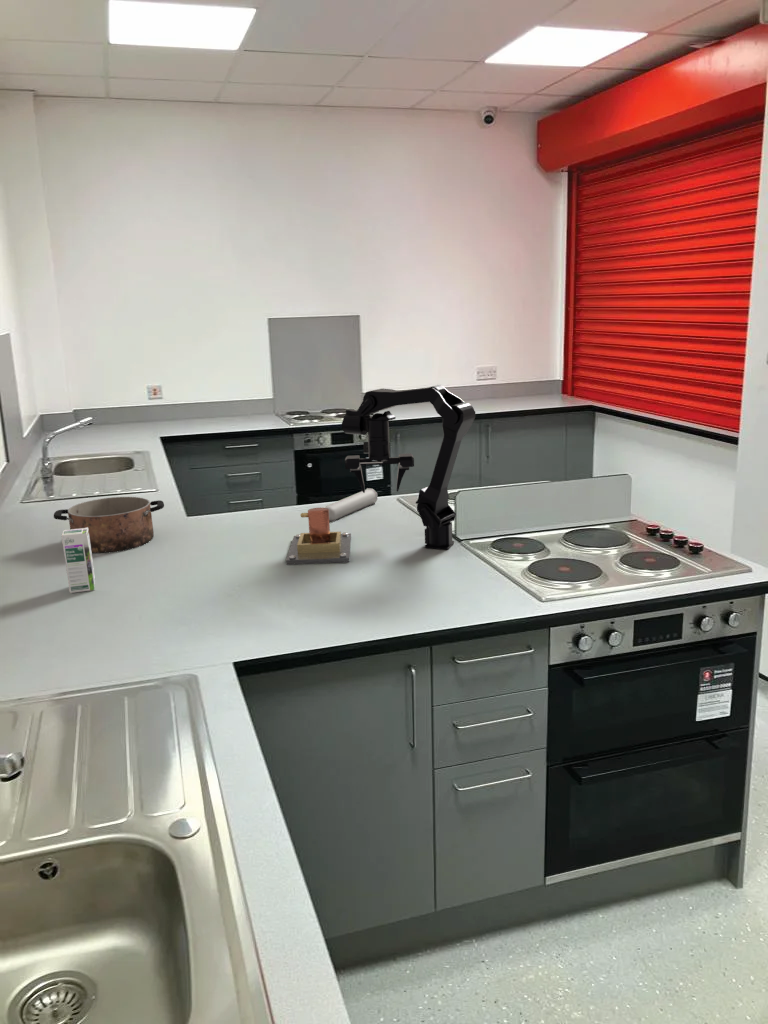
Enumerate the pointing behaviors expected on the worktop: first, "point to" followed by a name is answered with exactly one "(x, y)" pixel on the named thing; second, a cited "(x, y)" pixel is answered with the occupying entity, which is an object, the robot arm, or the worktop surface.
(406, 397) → the robot arm
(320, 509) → the copper cylinder
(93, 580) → the syrup box
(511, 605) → the worktop surface
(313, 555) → the gray mounting plate
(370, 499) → the tube
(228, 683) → the worktop surface
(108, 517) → the cooking pot
